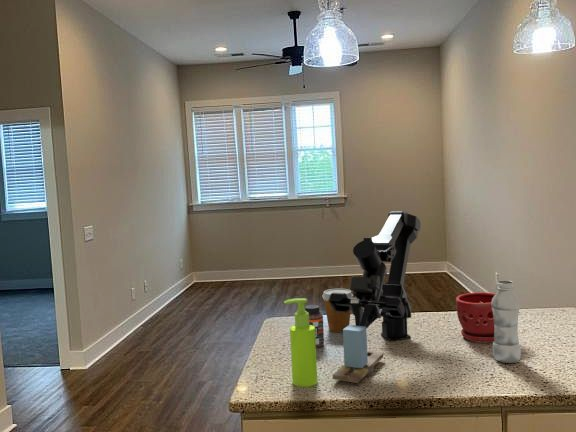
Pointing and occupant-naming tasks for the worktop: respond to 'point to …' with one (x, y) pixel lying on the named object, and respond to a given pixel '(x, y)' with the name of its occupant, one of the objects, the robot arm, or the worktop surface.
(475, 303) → the plant pot
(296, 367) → the soap dispenser
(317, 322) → the supplement bottle
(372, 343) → the worktop surface
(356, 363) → the rider
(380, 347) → the worktop surface
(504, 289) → the plastic bottle
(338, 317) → the disposable coffee cup
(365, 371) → the slotted wooden board
